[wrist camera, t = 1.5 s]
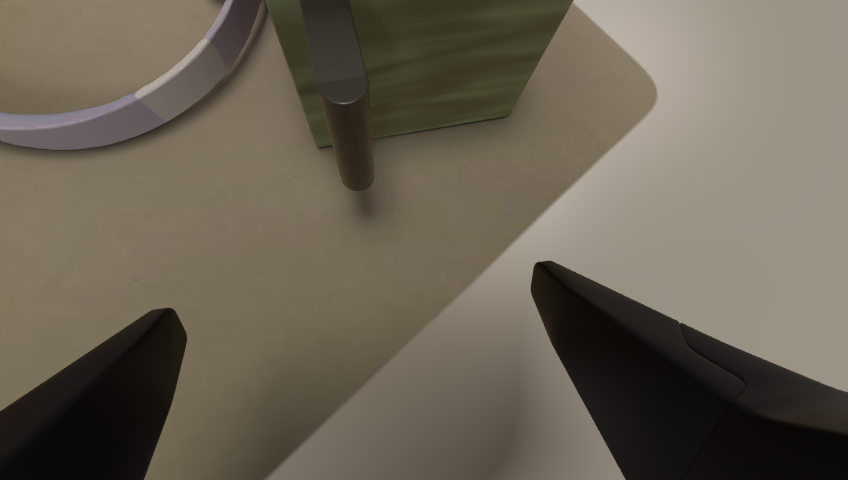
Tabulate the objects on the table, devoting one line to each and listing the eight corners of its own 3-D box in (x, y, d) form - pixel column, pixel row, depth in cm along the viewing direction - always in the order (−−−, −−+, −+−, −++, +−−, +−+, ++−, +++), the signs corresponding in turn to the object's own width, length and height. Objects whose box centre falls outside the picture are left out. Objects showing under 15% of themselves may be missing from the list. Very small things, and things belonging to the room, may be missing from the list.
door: (532, 186, 24) (707, 9, 11) (332, 227, 22) (257, 67, 9) (505, 106, 26) (633, -138, 12) (314, 137, 24) (227, -117, 10)
